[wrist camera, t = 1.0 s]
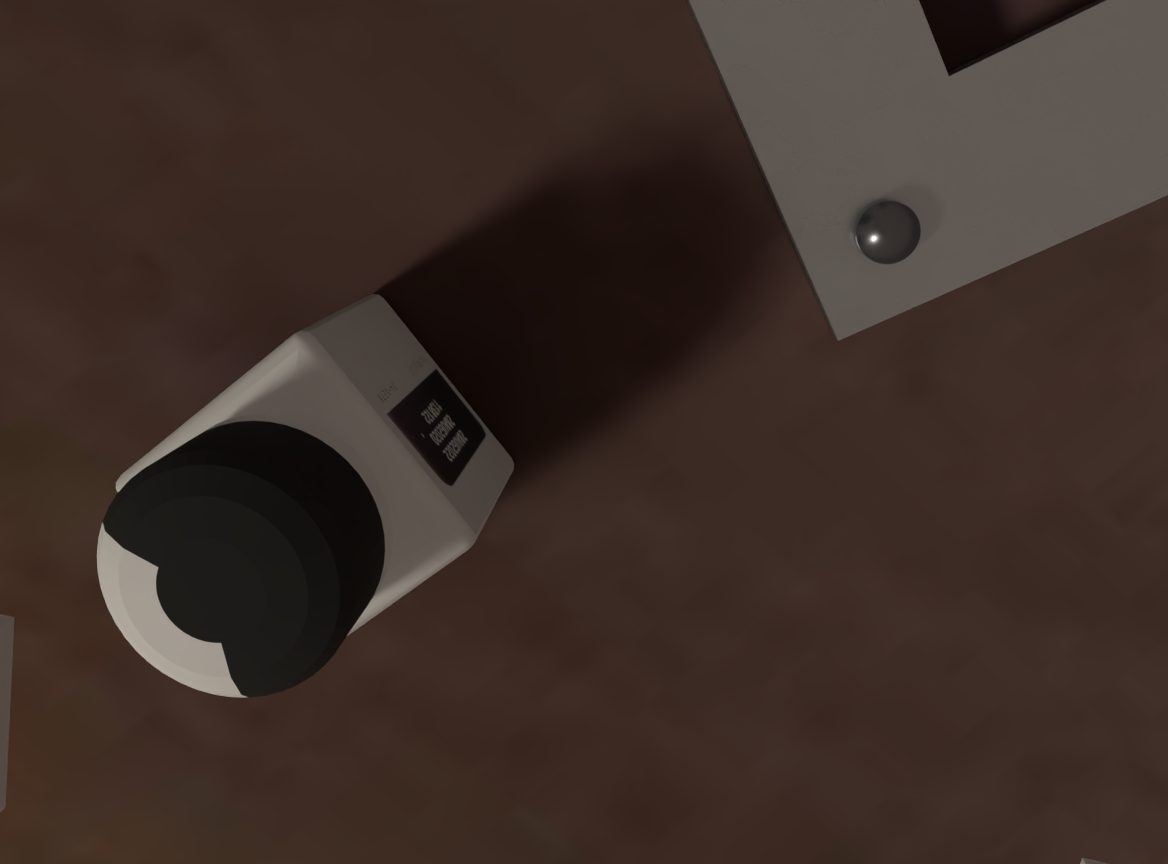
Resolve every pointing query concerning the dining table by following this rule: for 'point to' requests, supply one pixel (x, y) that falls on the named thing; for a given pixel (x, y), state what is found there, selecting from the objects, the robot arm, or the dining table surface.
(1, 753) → the robot arm
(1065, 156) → the flange
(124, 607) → the container
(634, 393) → the dining table surface
